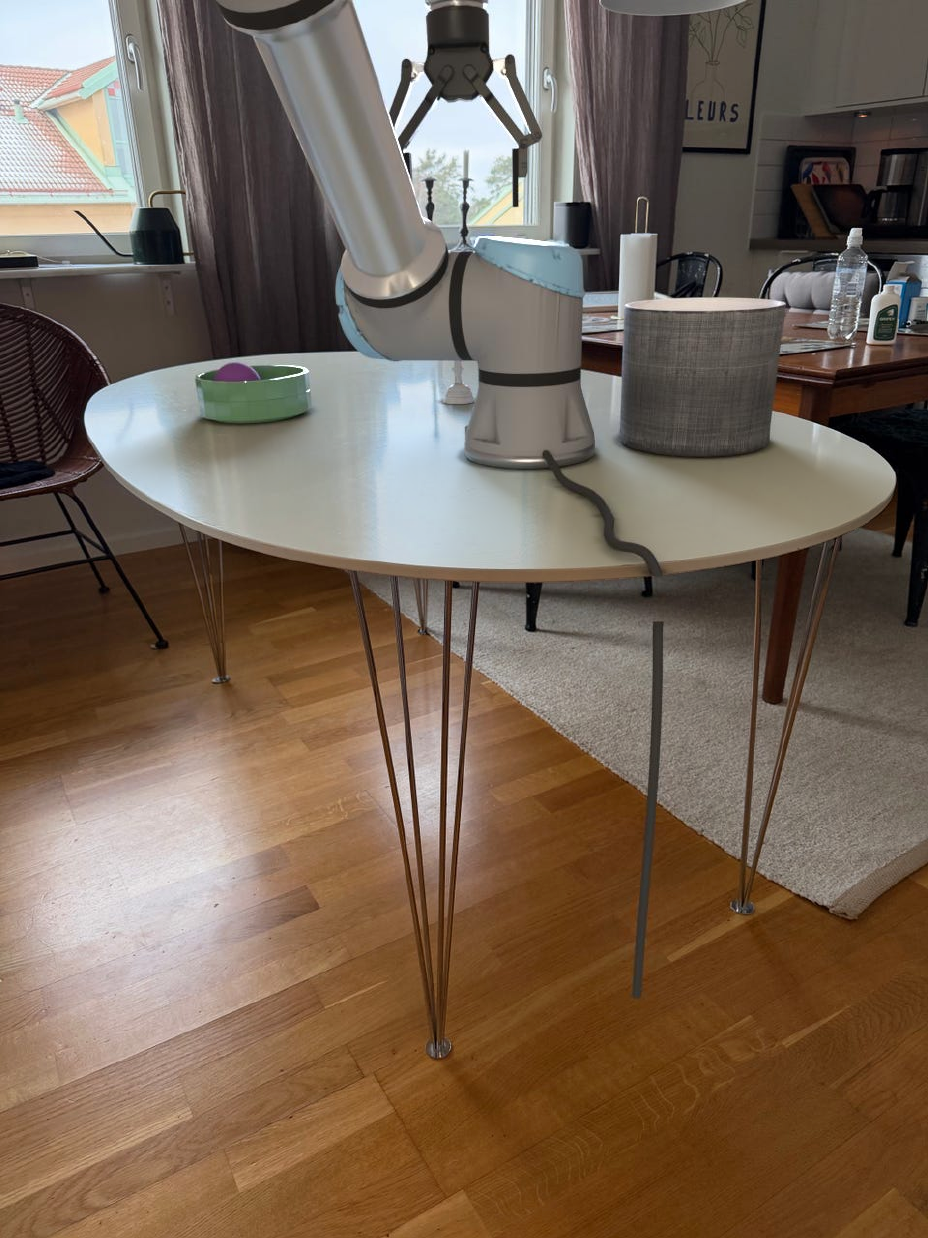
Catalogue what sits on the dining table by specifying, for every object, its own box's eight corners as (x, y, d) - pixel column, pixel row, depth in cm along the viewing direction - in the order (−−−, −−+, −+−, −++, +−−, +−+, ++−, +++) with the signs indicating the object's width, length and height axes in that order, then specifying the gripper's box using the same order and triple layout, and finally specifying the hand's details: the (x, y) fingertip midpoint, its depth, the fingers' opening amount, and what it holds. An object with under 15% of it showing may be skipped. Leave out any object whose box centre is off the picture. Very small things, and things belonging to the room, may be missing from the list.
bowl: (298, 424, 120) (294, 380, 118) (186, 426, 121) (179, 383, 119) (321, 402, 135) (317, 363, 133) (220, 405, 136) (214, 366, 134)
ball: (264, 393, 123) (229, 355, 121) (232, 424, 126) (196, 388, 124) (276, 385, 130) (242, 348, 128) (245, 415, 132) (212, 380, 130)
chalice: (484, 396, 136) (481, 274, 128) (480, 404, 130) (477, 277, 122) (438, 397, 136) (433, 276, 129) (432, 405, 130) (427, 278, 123)
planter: (603, 428, 112) (608, 300, 105) (735, 422, 113) (748, 295, 106) (641, 462, 96) (649, 313, 89) (795, 454, 97) (814, 306, 90)
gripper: (560, 12, 104) (558, 205, 113) (357, 21, 105) (370, 212, 114) (564, -3, 97) (561, 204, 106) (347, 7, 98) (362, 211, 107)
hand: (462, 208), depth 110 cm, fingers open, 13 cm apart
